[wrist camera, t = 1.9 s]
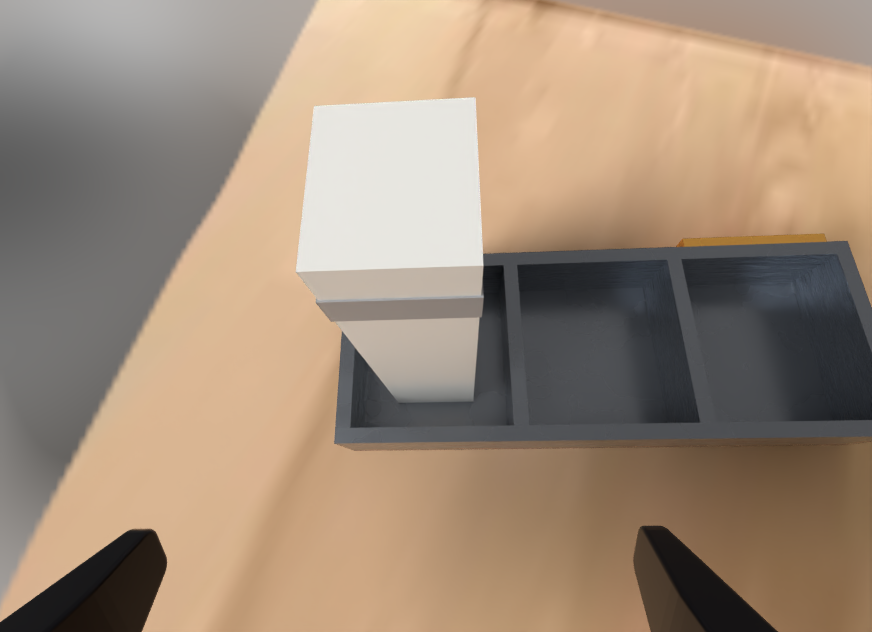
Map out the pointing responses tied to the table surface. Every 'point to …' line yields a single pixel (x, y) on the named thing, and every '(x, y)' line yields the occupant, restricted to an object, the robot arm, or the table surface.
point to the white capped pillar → (398, 239)
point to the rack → (647, 353)
